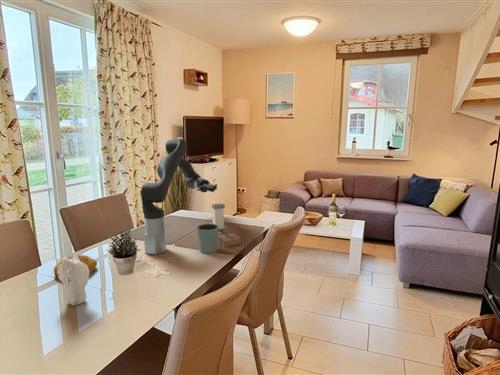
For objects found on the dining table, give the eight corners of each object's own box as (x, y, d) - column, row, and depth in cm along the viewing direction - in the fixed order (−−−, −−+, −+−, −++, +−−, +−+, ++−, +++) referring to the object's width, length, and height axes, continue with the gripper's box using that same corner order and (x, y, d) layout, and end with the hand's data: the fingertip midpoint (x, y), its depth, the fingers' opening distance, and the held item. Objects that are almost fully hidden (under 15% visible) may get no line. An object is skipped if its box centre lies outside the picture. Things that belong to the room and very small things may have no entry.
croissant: (60, 274, 139) (54, 256, 137) (99, 264, 143) (94, 247, 141) (51, 289, 125) (45, 270, 123) (95, 277, 130) (90, 259, 128)
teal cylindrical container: (208, 256, 151) (207, 231, 149) (193, 251, 157) (192, 227, 155) (223, 249, 159) (222, 225, 157) (208, 244, 165) (207, 222, 163)
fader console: (208, 234, 181) (208, 228, 180) (223, 231, 185) (223, 226, 184) (224, 247, 162) (224, 241, 161) (240, 243, 166) (240, 238, 165)
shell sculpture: (82, 293, 118) (77, 246, 115) (93, 301, 113) (88, 252, 109) (58, 303, 112) (51, 253, 108) (68, 311, 107) (61, 260, 103)
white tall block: (212, 228, 179) (211, 204, 177) (222, 227, 182) (221, 203, 179) (215, 230, 176) (214, 206, 173) (225, 229, 178) (224, 205, 176)
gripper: (191, 179, 192) (201, 184, 177) (212, 177, 198) (223, 182, 183) (191, 192, 193) (201, 197, 178) (212, 189, 200) (224, 195, 185)
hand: (213, 190), depth 181 cm, fingers closed
